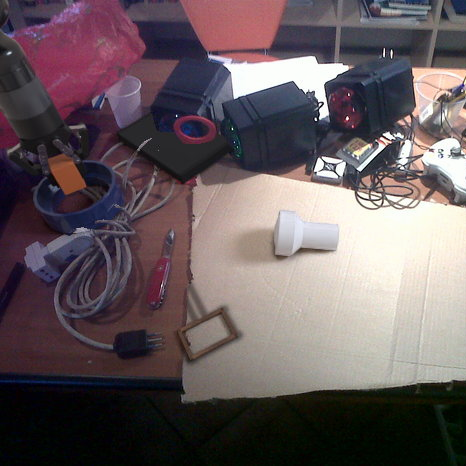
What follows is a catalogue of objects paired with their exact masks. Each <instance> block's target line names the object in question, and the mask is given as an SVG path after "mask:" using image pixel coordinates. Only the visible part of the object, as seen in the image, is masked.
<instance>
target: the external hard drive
mask: <svg viewBox="0 0 466 466" xmlns="http://www.w3.org/2000/svg"><path fill="white" fill-rule="evenodd" d="M151 112H152V111H150V112H149V113H147V114H145V115H143V116H142V117H140V118H138V119H137V120H134V121H133V122H131V123H129V124H128V125H126V126H124V127H123V128H121V129H120V130H118V131H117V132H116V136H117V138H118V140H119V141H120V142H122V143H123V144H125V145H126V146H128V147H129V148H131V149H132V150H133V151H135V152H136V150H137V149H138V148H139V146H140V145H141V144H142V143H143V142H144V141H146V140H148V139H150V138H152V139H151V140H150V141H148V142H147V143H146V144H145V145H144V146H143V147H142V148H141V149H140V151H139V152H137V154H139V155H140V156H142V157H143V158H145V159H146V160H147V161H149V162H150V163H152V164H154V166H156V167H158V168H159V169H161V170H162V171H163V172H166V173H167V174H168V175H169V176H170V177H172V178H174V179H175V180H176V181H178V182H180V183H181V184H182V185H185V184H186V183H189V181H190V180H192V179H193V178H195V177H196V176H198V175H199V174H200V173H202V172H203V171H205V170H207V169H208V168H209V167H211V166H212V165H213V164H215V163H216V162H218V161H220V159H222V158H223V157H226V155H228V154H229V153H230V152H232V151H234V149H233V148H232V147H230V146H229V143H228V142H227V141H226V139H225V138H224V137H225V136H224V135H222V134H221V133H219V132H217V133H216V137H215V139H213V140H212V141H209V142H205V143H201V144H184V143H183V142H182V141H181V140H180V139H179V138H178V137H177V136H176V135H175V133H174V132H160V131H157V129H156V127H155V124H154V120H153V117H152V113H151ZM223 136H224V137H223ZM199 137H201V136H199ZM158 150H159V151H158Z"/></svg>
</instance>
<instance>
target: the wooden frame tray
mask: <svg viewBox="0 0 466 466" xmlns="http://www.w3.org/2000/svg"><path fill="white" fill-rule="evenodd" d="M219 315H222V318H223V319H224V321H225V323H226V325H227V326H228V328H229V330H230V332H231V334H230V335H229V336H227V337H225V338H223V339H221V340H219V341H217V342H215V343H214V344H212V345H211V344H210V345H209V346H208V347H205V348H204V349H201V350H199V351H197V352H195V353H194V354H193V353H192V351H191V348H190V346H189V344H188V342H187V339H186V338H185V335H184V334H183V333H185V332H187V331H189V330H191V329H193V328H195V327H198V326H199V325H201V324H203V323H205V322H208V321H209V320H211V319H213V318H215V317H217V316H219ZM176 332H177V334H178V337H179V339H180V341H181V343H182V346H183V347H184V349H185V352H186V354H187V356H188V358H189V360H190V362H194V361H195V360H197V359H199V358H201V357H203V356H205V355H207V354H209V353H211V352H213V351H215V350H217V349H218V348H220V347H223V346H224V345H226V344H229V343H230V342H231V341H234V340H235V339H237V338H239V334H238V332H237V330H236V329H235V327H234V325H233V324H232V321H231V320H230V317H229V316H228V314H227V312H226V310H225V308H224V307H223V306H222V307H221V308H219V309H216V310H214V311H212V312H210V313H208V314H206V315H204V316H202V317H200V318H198V319H196V320H194V321H192V322H190V323H188V324H186V325H183V326H182V327H180V328H178V329H177V330H176Z"/></svg>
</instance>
